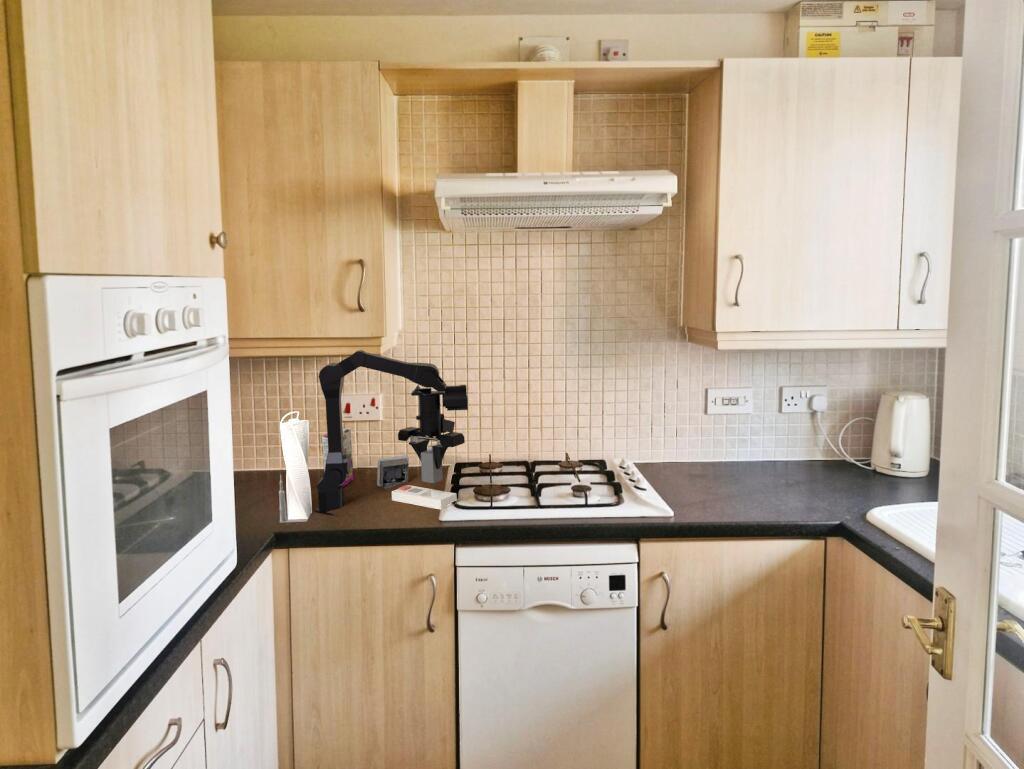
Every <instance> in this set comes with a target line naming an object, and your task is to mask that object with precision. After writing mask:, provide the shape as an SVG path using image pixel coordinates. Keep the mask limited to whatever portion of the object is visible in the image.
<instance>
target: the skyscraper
mask: <svg viewBox="0 0 1024 769" xmlns="http://www.w3.org/2000/svg"><path fill="white" fill-rule="evenodd" d="M300 413H301V412H300V411H298V410H296V411H290V412H288V413H286V414H285V415H284V416H282V418H281V420H280V423H279V426H280V427H279V428H280V440H281V447H282V448H281V449H282V453H283V459H284V463H285V469H286V471H285V472H286V475H285V478H286V480H285V481H286V485H285V488H286V489H285V490H284V485H283V483H284V482H283V479H282V474H279V477H280V478H279V479H280V480H279V491H278V496H279V508H278V510H279V523H303V522H304V523H305V522H306V523H307V522H308V520H309V519H310V517H311V516H312V514H313V506H312V504H313V503H312V490H311V481H310V480H311V479H310V475H309V474H310V473H309V470H308V469H309V468H308V459H309V451H310V450H309V449H310V448H309V447H310V421H309V420H308V419H303V420H300V418H299V416H300ZM292 414H293V415H294V414H297V415H296V417H295V418H290V419H288V420H287V421H285V422H283V421H284V420H285V418H286V417H288V416H289V415H292ZM285 494H286V496H285ZM285 497H286V498H285Z"/></svg>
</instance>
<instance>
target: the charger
mask: <svg viewBox="0 0 1024 769" xmlns="http://www.w3.org/2000/svg"><path fill="white" fill-rule="evenodd" d="M432 446H434V445H433V444H431V445H430V444H429V445H428V446H427V448H428V449H427V451H424V452H421V461H420V465H421V466H420V468H421V482H424V483H430V484H435V483H438V482H440V481H442V480H443V478H444V477H443V476H444V474H443V462H442V463H441V467H440V469H436V465H435V460H434V454H433V449H432Z"/></svg>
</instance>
